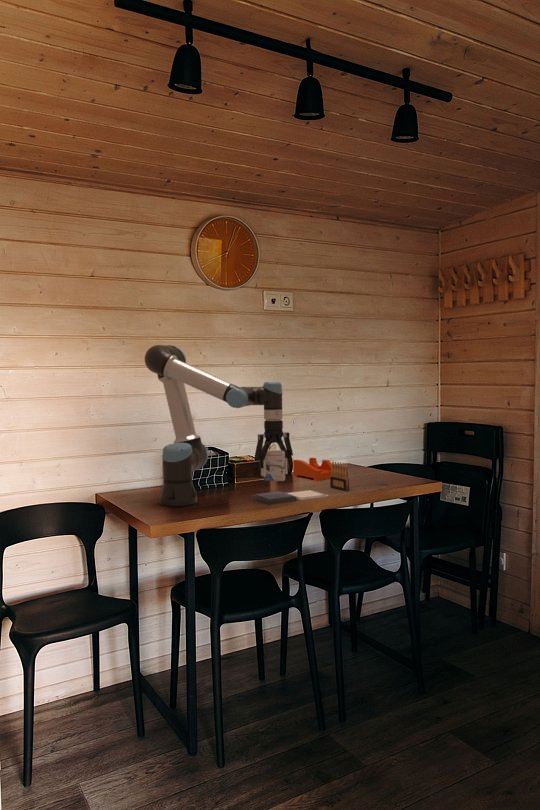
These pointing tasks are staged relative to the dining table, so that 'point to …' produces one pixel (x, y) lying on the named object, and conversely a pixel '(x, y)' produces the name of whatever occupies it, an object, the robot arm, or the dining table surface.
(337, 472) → the ammunition clip
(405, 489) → the dining table surface
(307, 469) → the tape dispenser
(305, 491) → the board
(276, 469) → the ink box
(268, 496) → the pad
